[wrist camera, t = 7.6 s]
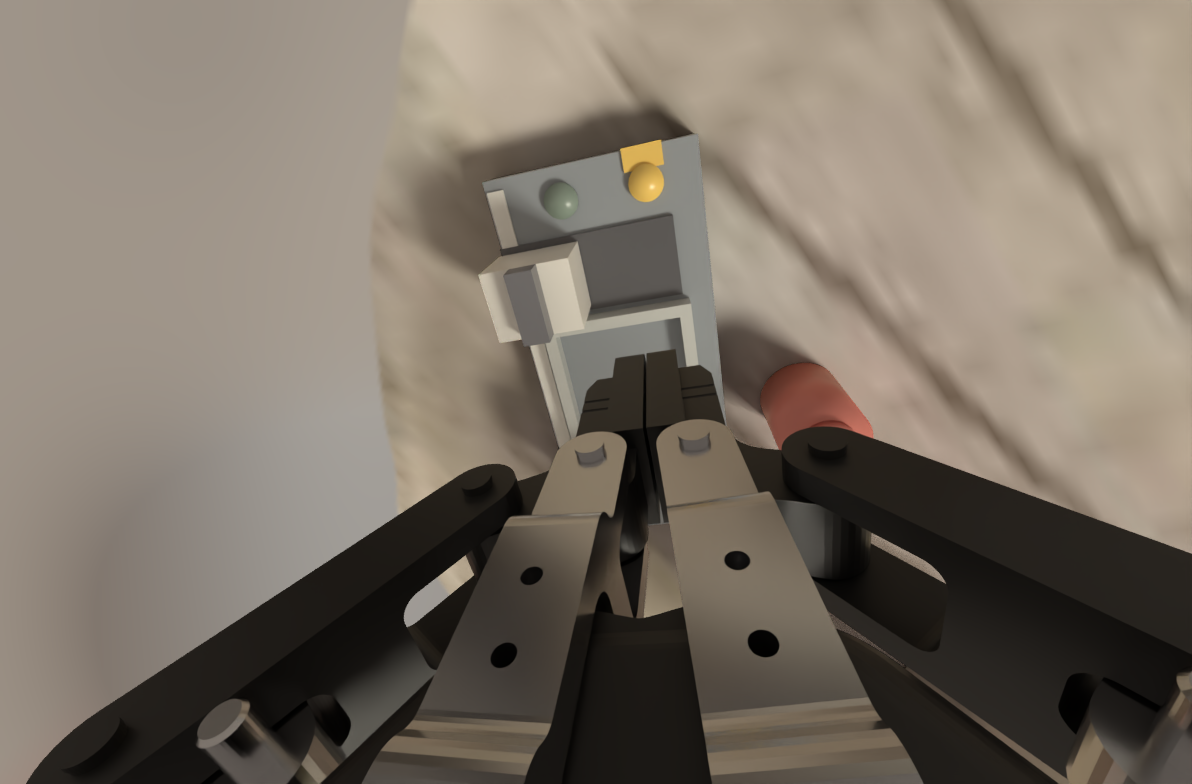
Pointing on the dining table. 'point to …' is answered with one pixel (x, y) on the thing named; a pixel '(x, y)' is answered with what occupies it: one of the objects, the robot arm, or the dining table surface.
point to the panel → (618, 263)
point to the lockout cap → (808, 402)
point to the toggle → (537, 294)
